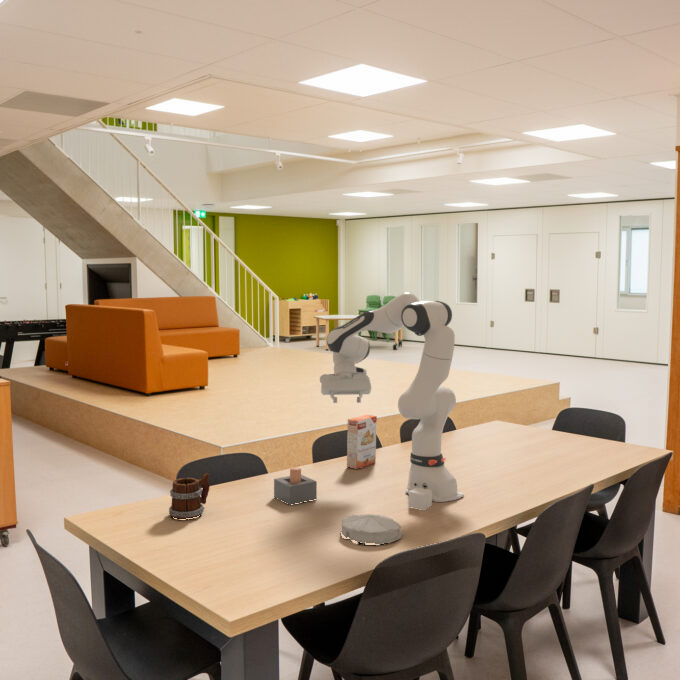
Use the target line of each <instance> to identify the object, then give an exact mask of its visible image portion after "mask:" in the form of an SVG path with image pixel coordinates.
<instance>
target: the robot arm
mask: <svg viewBox="0 0 680 680" xmlns="http://www.w3.org/2000/svg"><path fill="white" fill-rule="evenodd" d="M452 319H453V312H452V309H451V307H450V305H449V304H447V303H446V302H444V301H439V300H431V301H430V300H422V301H420V299H419V297H417V295H415V294H414V293H411V292H403V293H401V294H398V296H396V297H394V298H392V299H391V300H389V301H388V302H387V303H386V304H384V305H382V306H381V307H379V308H377V309H373V310H368V311H364V312H362V313H361V314H359V315H357V316H355V317H354V318H352V319H351V320H350V321H348V322H346V323H345V324H343V325H341V326H337V327H335V328H333V329H332V330H330V332H329V333H328V334H327V336H326V344H327V348H328V349H329V351H330V352H332V361H333V373H328V374H327V373H324V374H323V375H320V376H319V381H320V383H321V388H320V389H321V390H320V392H321V394H322V396H329V397H330V398H331V399H332V403H333V404H337V403H338V397H337V396H341V395H342V396H343V395H344V396H347V395H350V396H351V395H358V396H356V403H359V404H360V403H361V402H362V398H363V397H364V395H370V393H371V391H372V384H371V380H370V377H369V375H367V374H368V372H367V369H365V368H362V367H358V366H356V364H360V363H361V362H362V361H364V360H366V358H367V357H368V356H369V355H370V351H371V350H370V349H371V347H370V346H371V345H370V342H369V340H368V339H367V338H365V337H362V336H360V335H358V334H360V333H361V332H364V331H373V332H379V333H383V334H394V333H397V332H398V331H400V330H401V329H403V328H406V329H407V330H408V331H411V332H413V333H414V334H415V335H416V336H418V337H422V336H423V337H424V346H423V349H422V354H421V358H420V363H419V366H418V370H417V373H416V375H415V377H414V379H413V381H412V382H411V384H410V386H409V387H408V388H407V389H406V391H405V392H403V393H401V395H400V396H399V398H398V401H397V408H398V411H399V413H400V414H401V417H403V418H405V419H409V420H420V421H419V422H418V425H417V426H416V427H415V428H414V429H413V431H412V434H411V452H410V456H409V457H410V458H409V459H410V460H409V461H410V463H411V465H410V467H409V473H408V481H407V487H406V490H405V494H407V493H408V494H407V495H409V491H411V490H413V489H415V488H417V487H418V488H423V489H428V490H432V502H435V503H444V502H445V503H446V502H452V501H456V500H460V499H462V498H463V497H464V495H465V494H464V492H462V491H460V490H458V482H457V479H456V478H455V475H453V474H452V473H451V472H450V470H449V469H448V468H447V467H446V465H445V462H446V461H447V458H446V457H444V455H443V453H442V440H443V439H442V436H443V431H444V427H445V424H446V421H447V419H448V417H449V415H450V414H451V412H452V411H454V410H455V407H456V404H457V402H456V400H457V399H456V395H455V392H453V390H452V389H450V388H449V387H445V386H444V387H443V386H441V385H442V384H443V383H444V382H445V381H446V380H447V379H448V377H449V375H450V371H451V366H452V363H453V362H452V361H453V356H454V351H455V340H456V338H455V332H454V330H453V329H452V328H451V327H449V326H448V325H449V324H450V323H451V322H452ZM461 497H462V498H461Z"/></svg>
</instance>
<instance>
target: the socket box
mask: <svg viewBox="0 0 680 680" xmlns="http://www.w3.org/2000/svg"><path fill="white" fill-rule="evenodd" d="M317 491H318V490H317V481H316V480H314V479H311V478H310V477H308V476H306V475H303V474H301V482H299V483H294V484H292V483H290V475H289V476H283V477H282V476H281V477H278V478H274V479H273V498H274V497H276V498H278V499H280V500H282V501H284V502H286V503H288V504H289V505H291V504H295V503H300V502H304V501H309V500H314V499H317ZM276 498H275V499H276ZM278 499H277V500H278ZM280 500H279V501H280ZM317 500H318V499H317ZM289 505H288V506H289Z"/></svg>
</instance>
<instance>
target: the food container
mask: <svg viewBox="0 0 680 680" xmlns="http://www.w3.org/2000/svg"><path fill="white" fill-rule="evenodd" d="M340 525H341V530H342V531H341V530H340V532H342V534H343V535H344V536H345V537H346V538H347V537H349V538H350V540H355V541H357V542H362V543H365V542H366V543H375V544H383V543H388V544H390V543H394V542H396V541H397V540H400V539H401V538H402V535H403V534H402V531H401V528H402V526H401V525H400V523H399V522H397V521H395V519H393V518H391V517H388V516H385V515H381V514H374V513H372V514H371V513H364V514H352V515H349V516H347V517H345V518H343V519H342V520H341V522H340ZM350 540H349V541H350Z"/></svg>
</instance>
